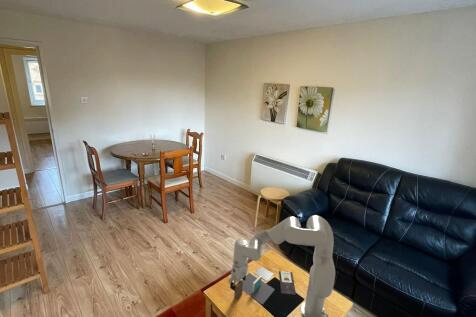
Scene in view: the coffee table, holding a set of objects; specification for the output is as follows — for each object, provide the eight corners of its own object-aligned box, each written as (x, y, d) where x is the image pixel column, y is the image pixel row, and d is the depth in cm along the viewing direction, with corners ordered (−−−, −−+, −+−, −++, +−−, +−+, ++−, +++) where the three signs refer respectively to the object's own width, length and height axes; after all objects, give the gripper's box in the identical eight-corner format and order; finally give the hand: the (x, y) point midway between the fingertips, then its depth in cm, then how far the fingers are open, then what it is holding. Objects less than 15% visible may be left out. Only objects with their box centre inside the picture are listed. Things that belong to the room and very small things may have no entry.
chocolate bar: (281, 293, 146) (278, 271, 164) (281, 294, 147) (278, 272, 164) (296, 294, 146) (292, 272, 163) (296, 296, 146) (291, 273, 163)
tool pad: (273, 274, 161) (273, 274, 161) (267, 281, 155) (267, 281, 155) (261, 267, 167) (261, 266, 167) (254, 273, 161) (254, 273, 161)
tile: (261, 285, 152) (262, 276, 150) (253, 293, 146) (254, 284, 144) (259, 284, 153) (260, 275, 150) (252, 292, 147) (252, 283, 144)
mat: (274, 289, 149) (274, 289, 149) (262, 305, 139) (262, 304, 139) (249, 273, 161) (249, 272, 161) (235, 286, 151) (235, 285, 151)
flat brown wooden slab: (242, 295, 145) (242, 282, 141) (236, 300, 141) (237, 287, 138) (239, 293, 146) (240, 280, 143) (234, 298, 142) (234, 285, 139)
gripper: (235, 272, 126) (233, 297, 132) (254, 255, 139) (251, 278, 145) (224, 265, 131) (223, 289, 136) (244, 249, 144) (242, 272, 149)
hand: (237, 283), depth 140 cm, fingers open, 9 cm apart
